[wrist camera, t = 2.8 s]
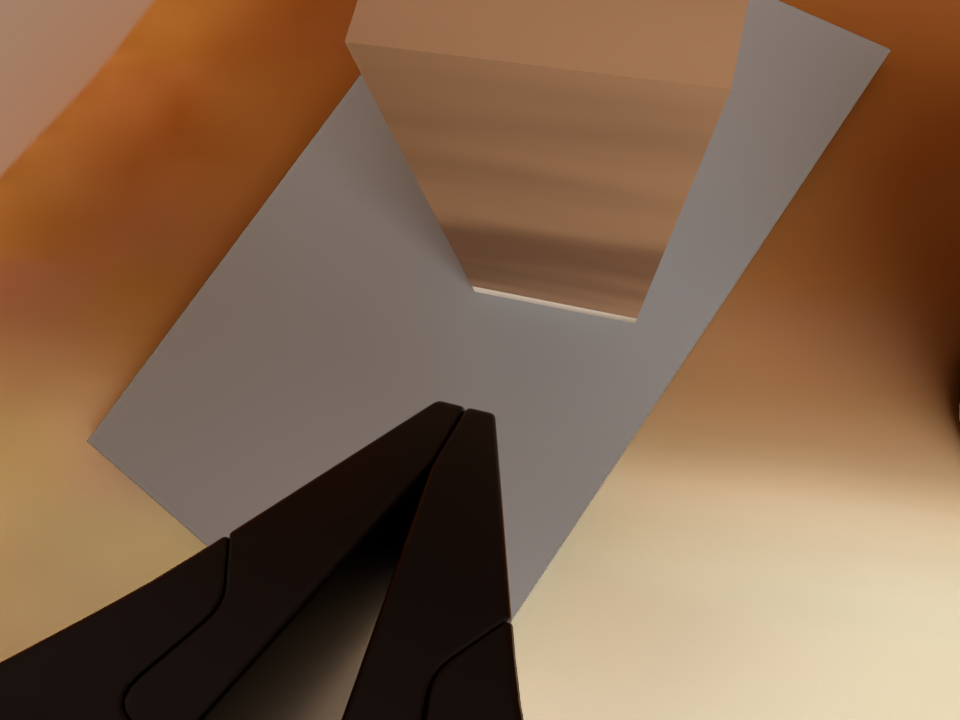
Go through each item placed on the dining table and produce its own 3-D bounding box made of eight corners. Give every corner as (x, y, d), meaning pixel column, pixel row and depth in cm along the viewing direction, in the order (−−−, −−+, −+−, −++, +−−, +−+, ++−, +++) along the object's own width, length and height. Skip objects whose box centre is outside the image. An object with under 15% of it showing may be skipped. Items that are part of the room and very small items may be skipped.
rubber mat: (434, 734, 15) (431, 741, 15) (97, 442, 18) (87, 441, 18) (883, 59, 17) (891, 49, 16) (506, -108, 20) (504, -120, 19)
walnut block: (635, 323, 16) (731, 89, 6) (474, 291, 17) (344, 42, 7) (667, 171, 17) (799, -251, 7) (511, 147, 18) (438, -257, 8)
